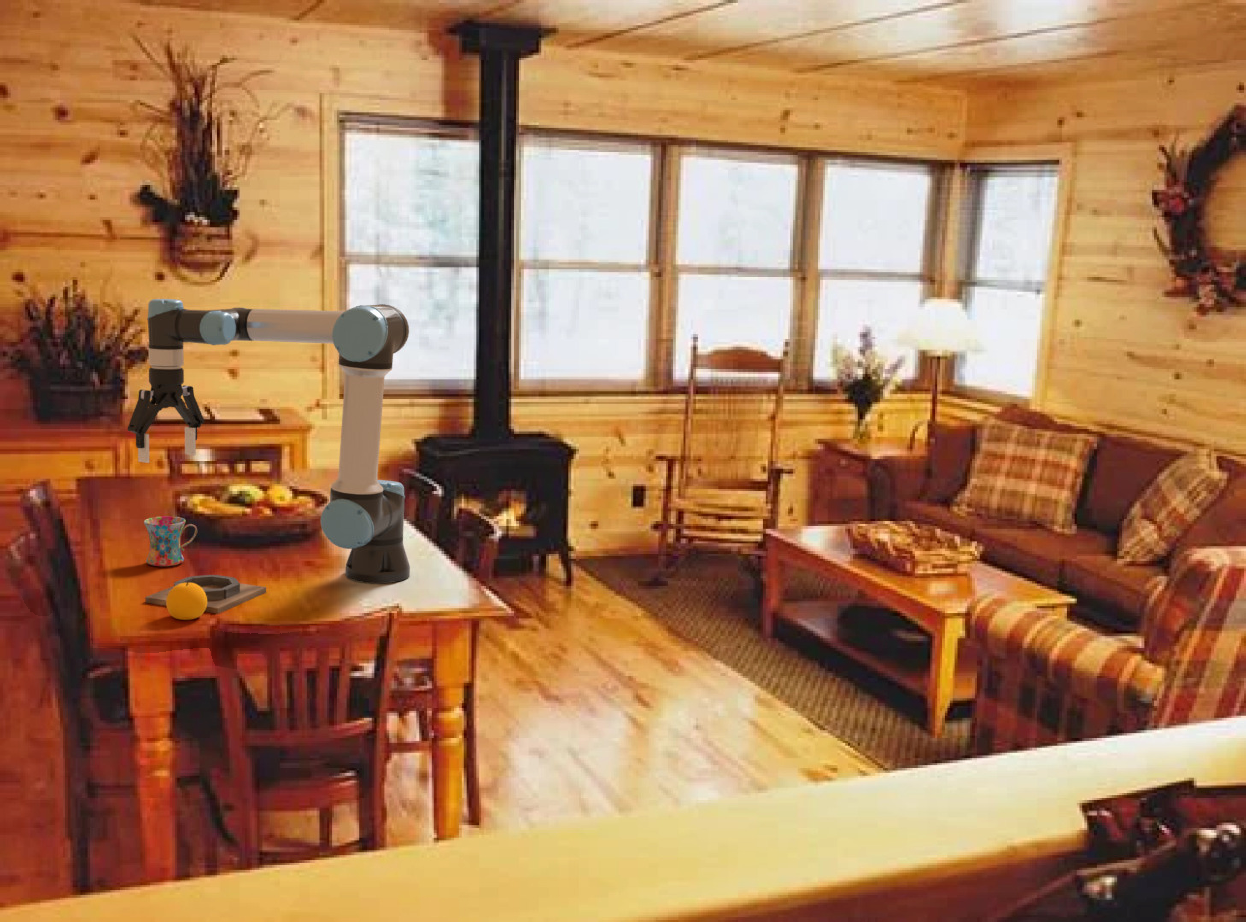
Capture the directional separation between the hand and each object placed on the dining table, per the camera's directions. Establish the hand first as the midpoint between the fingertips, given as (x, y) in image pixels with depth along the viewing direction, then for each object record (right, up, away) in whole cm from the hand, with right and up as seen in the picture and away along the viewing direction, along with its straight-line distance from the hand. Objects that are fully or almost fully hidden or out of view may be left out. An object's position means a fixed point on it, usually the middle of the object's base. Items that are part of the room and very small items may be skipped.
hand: (167, 458), depth 287 cm
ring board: (+15, -30, -16) cm, 37 cm away
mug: (-3, -25, +10) cm, 27 cm away
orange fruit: (+15, -33, -31) cm, 48 cm away
